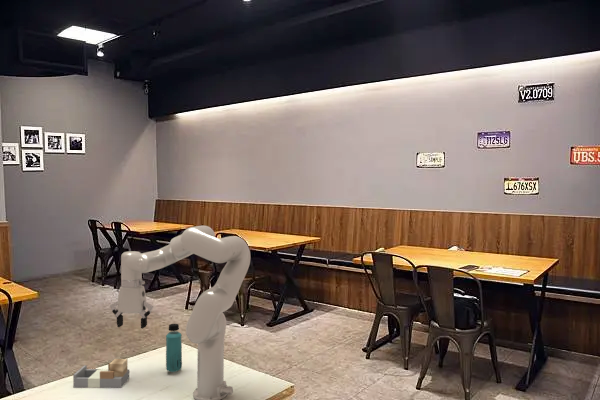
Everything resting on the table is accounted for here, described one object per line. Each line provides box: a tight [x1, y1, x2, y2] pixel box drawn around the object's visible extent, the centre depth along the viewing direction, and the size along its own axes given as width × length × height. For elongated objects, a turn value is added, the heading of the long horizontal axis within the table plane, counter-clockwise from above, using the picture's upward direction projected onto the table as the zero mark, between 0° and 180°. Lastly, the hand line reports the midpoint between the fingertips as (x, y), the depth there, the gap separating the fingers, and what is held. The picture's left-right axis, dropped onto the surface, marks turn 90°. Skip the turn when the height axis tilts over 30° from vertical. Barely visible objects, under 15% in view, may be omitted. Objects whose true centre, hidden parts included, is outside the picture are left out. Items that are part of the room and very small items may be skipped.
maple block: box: [109, 358, 128, 377], centre depth 181 cm, size 5×5×5 cm
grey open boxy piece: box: [72, 362, 130, 389], centre depth 181 cm, size 18×9×6 cm, turn 91°
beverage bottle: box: [165, 323, 183, 373], centre depth 192 cm, size 6×7×20 cm
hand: (131, 326), depth 181 cm, fingers open, 9 cm apart
